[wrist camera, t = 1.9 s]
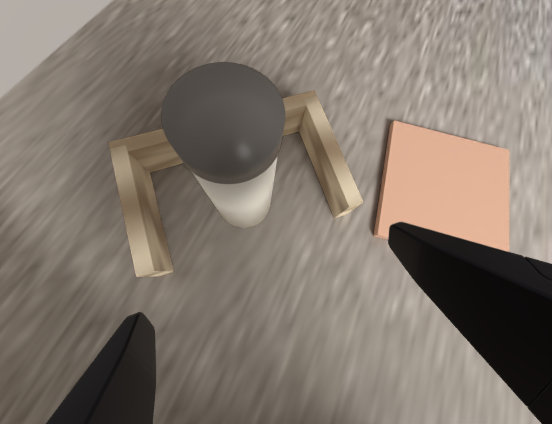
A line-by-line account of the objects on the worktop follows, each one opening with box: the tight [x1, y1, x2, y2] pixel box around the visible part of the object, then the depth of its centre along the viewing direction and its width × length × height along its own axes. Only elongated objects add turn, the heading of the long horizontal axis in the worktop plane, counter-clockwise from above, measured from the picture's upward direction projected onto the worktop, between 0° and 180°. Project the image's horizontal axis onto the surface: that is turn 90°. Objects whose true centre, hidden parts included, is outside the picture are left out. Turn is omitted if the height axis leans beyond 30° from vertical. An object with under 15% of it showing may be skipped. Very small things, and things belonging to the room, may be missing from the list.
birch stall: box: [108, 90, 363, 277], centre depth 21 cm, size 11×17×4 cm, turn 109°
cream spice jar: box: [161, 62, 285, 228], centre depth 16 cm, size 5×5×13 cm
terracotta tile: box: [374, 121, 509, 252], centre depth 24 cm, size 12×12×1 cm
